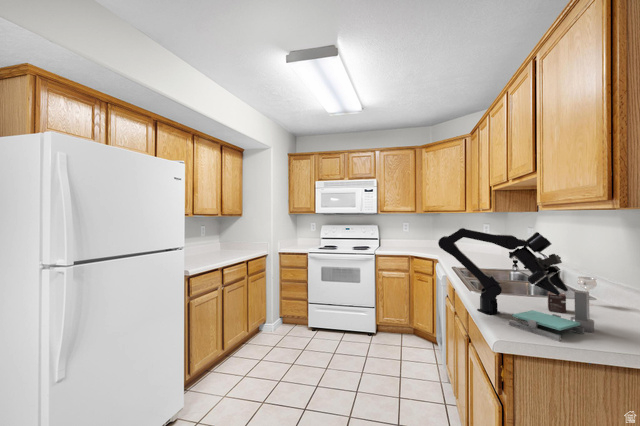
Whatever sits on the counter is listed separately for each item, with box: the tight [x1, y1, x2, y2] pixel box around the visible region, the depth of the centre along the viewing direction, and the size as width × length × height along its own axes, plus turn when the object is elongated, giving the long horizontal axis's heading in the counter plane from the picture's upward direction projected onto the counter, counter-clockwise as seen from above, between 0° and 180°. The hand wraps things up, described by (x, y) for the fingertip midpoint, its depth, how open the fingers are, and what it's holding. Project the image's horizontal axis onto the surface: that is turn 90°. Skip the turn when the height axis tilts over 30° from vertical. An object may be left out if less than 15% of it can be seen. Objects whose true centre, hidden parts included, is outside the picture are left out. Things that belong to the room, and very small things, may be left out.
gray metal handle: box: [570, 289, 595, 333], centre depth 113 cm, size 7×7×14 cm
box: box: [547, 291, 567, 314], centre depth 135 cm, size 6×6×7 cm
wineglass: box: [577, 276, 598, 307], centre depth 144 cm, size 7×7×12 cm
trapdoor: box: [512, 309, 580, 331], centre depth 113 cm, size 16×12×2 cm
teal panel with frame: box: [508, 313, 585, 342], centre depth 113 cm, size 17×15×4 cm
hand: (563, 292), depth 118 cm, fingers open, 9 cm apart
